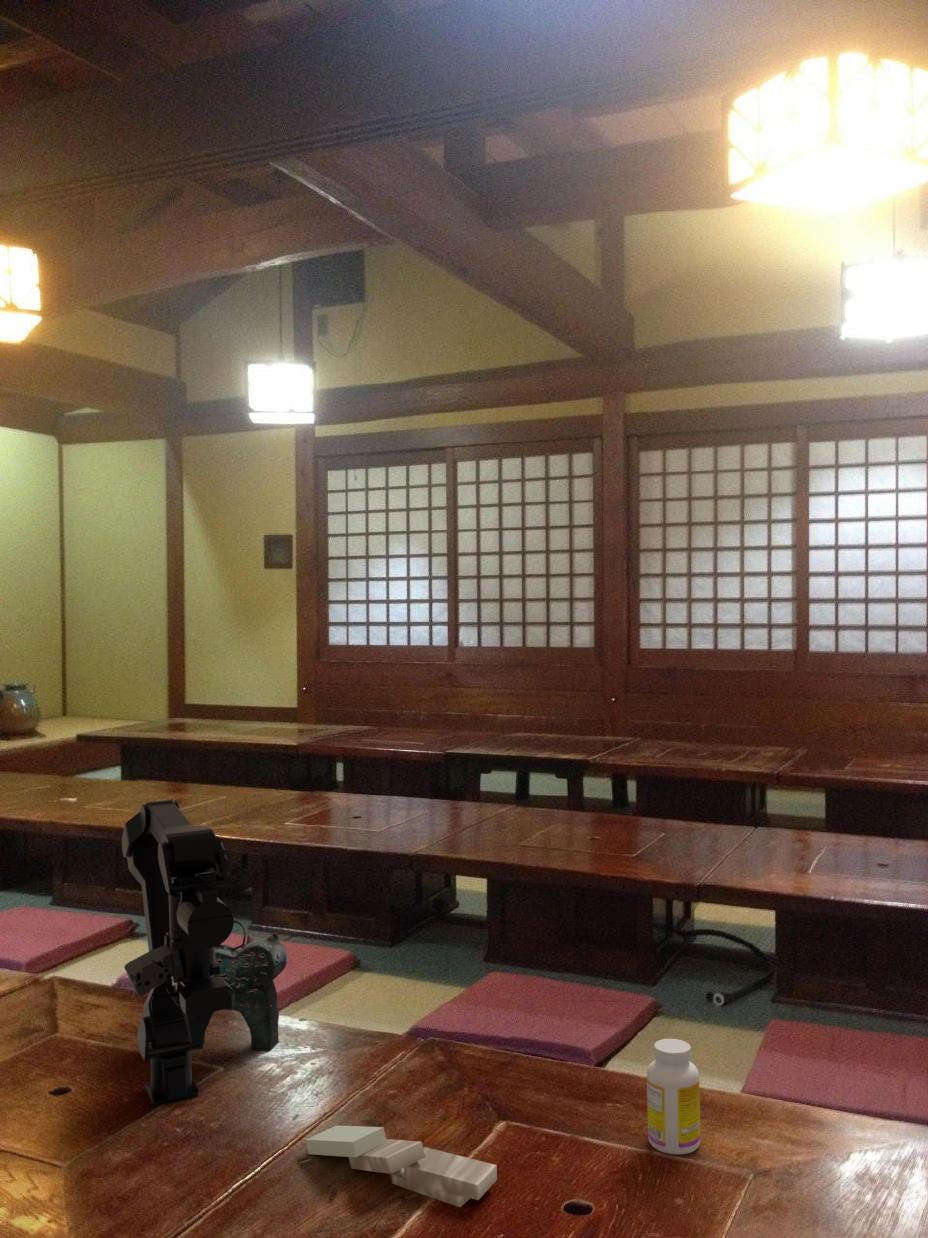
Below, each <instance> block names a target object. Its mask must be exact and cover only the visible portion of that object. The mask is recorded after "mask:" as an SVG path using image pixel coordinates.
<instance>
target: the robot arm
mask: <svg viewBox="0 0 928 1238" xmlns="http://www.w3.org/2000/svg"><path fill="white" fill-rule="evenodd" d="M121 850H122V856H123V858H124V859H125V858H126V859H127V868H128V871H129V872H130V873H131V875H132V876H133V877H134V878H135V880H136V881H137V882H138V883H139V884H140V885H141V891H142V901H143V912H144V918H145V919H144V920H145V929H146V939H147V948H148V952H146V953H144V954H142V955H139V957H136V958H134V959H131V960H130V961H129V962H127V963H126V964H125V965H124V967H123V968H124V970H125V972H126V974H127V975H126V976H128V979H129V982H130V984H131V985H132V989H134V991H135V993H136V995H137V996H138V997H142V996H145V995H147V994H148V995H147V997H146V999H145V1001H144V1004H143V1007H142V1008H143V1017H141V1018H140V1022H139V1026H138V1029H137V1033H136V1038H137V1039H136V1040H137V1048H138V1051H139V1054H140V1055H141V1058H142V1059H143V1062H146V1061H150V1082H147V1083H145V1084H144V1088H145V1090H146V1093H147V1094H148V1097H149V1098H150V1100H151V1103H152V1104H153V1105H158V1104H163V1103H167V1102H172V1101H176V1100H177V1101H178V1100H181V1099H185V1098H191V1097H194V1096H195V1097H196V1096H198V1095H199V1094H200V1091H199V1088H198V1086H197V1085H196V1083H195V1082H194V1080H193V1078H192V1073H193V1072H192V1051H196V1050H199V1051H200V1050H203V1049H204V1044H205V1038H206V1037H205V1036H206V1030H207V1028H208V1026H209V1023H210V1022H211V1018H212V1017H213V1016H214V1015H213V1014H214V1012H219V1011H223V1010H224V1011H226V1009H230V1008H233V1007H234V1006H235V991H234V990H233V989H232V988H231V986H230V985H229V984H228V983H227V982H226V981H224V980H223V979H222V978H221V977H220V978H215V977H210V975H215V974H220V966H219V965H218V964H217V963H216V961H215V947H216V946H218V945H220V944H222V945H223V943H225V942H226V940H228V939H229V937H230V935H231V934H232V931H233V929H234V920H235V919H234V916H233V914H232V911H231V909H230V908H229V907H228V906H227V905H226V904H225V903H224V902H223V901H222V900H221V899H220V898H219V895H218V887H224V886H229V877H230V873H231V869H230V866H229V865H230V864H229V861H228V857H227V854H226V849H225V846H224V843H222V842H221V837H219V836H218V835H216V833H215V831H214V830H213V829H212V828H211V827H209V826H207V825H194V824H192V823H191V822H190V821H189V819H188V818H187V817H186V816H185V814H183V812H182V811H181V810H180V806H179V803H178V801H177V800H173V799H162V800H153V801H147V802H146V803H142V804H141V805H140V809H139V811H138V813H136V814H135V815H133V817H131V818H130V819H128V820H127V821H126V822H125V824H124V827H123V831H122V836H121Z"/></svg>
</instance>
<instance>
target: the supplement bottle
mask: <svg viewBox="0 0 928 1238" xmlns="http://www.w3.org/2000/svg"><path fill="white" fill-rule="evenodd" d="M691 1048H692V1047H691V1045H690V1044H689V1043H688V1042H687V1041H684V1040H682V1039H676V1038H664V1039H660V1040H657V1041H656V1042H654V1043H653V1056H654V1058H655V1060H653V1061H652V1062H650V1063H649V1065H648V1067H647V1070H646V1099H647V1104H646V1106H647V1136H648V1137H647V1138H648V1141H649V1143H650V1145H651V1146H652V1147H653V1148H654V1149H655V1150H657V1151H659V1152H662V1153H664V1154H669V1155H681V1156H682V1155H686V1154H687V1155H688V1154H690V1153H693V1152H694V1151H696V1150H697V1149H698V1148H699V1147H700V1144H701V1106H700V1105H701V1103H700V1102H701V1100H700V1074H699V1073H700V1072H699V1070H698V1068H697V1066H696V1065H695V1064H694V1063H692V1061H690V1060H691V1057H692V1049H691Z"/></svg>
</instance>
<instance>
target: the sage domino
mask: <svg viewBox="0 0 928 1238" xmlns="http://www.w3.org/2000/svg"><path fill="white" fill-rule="evenodd" d="M386 1139H387V1137H386V1132H385V1128H384V1126H358V1125H334V1126H332V1127H330V1128H328V1129H325V1130H324V1131H322V1132H318V1133H317V1134H315V1135H313V1136H311V1137H308V1138H306V1139H305V1142H306V1147H307V1153H308V1155H315V1156H316V1155H318V1156H331V1157H332V1156H333V1157H344V1158H345V1157H346V1158H349V1157H358V1156H360V1155H362V1154H364V1153H366V1152H368V1151H370V1150H372V1149H374V1148H376V1147H378V1146H380V1145H382V1144H384V1143H386V1142H387V1141H386Z"/></svg>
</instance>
